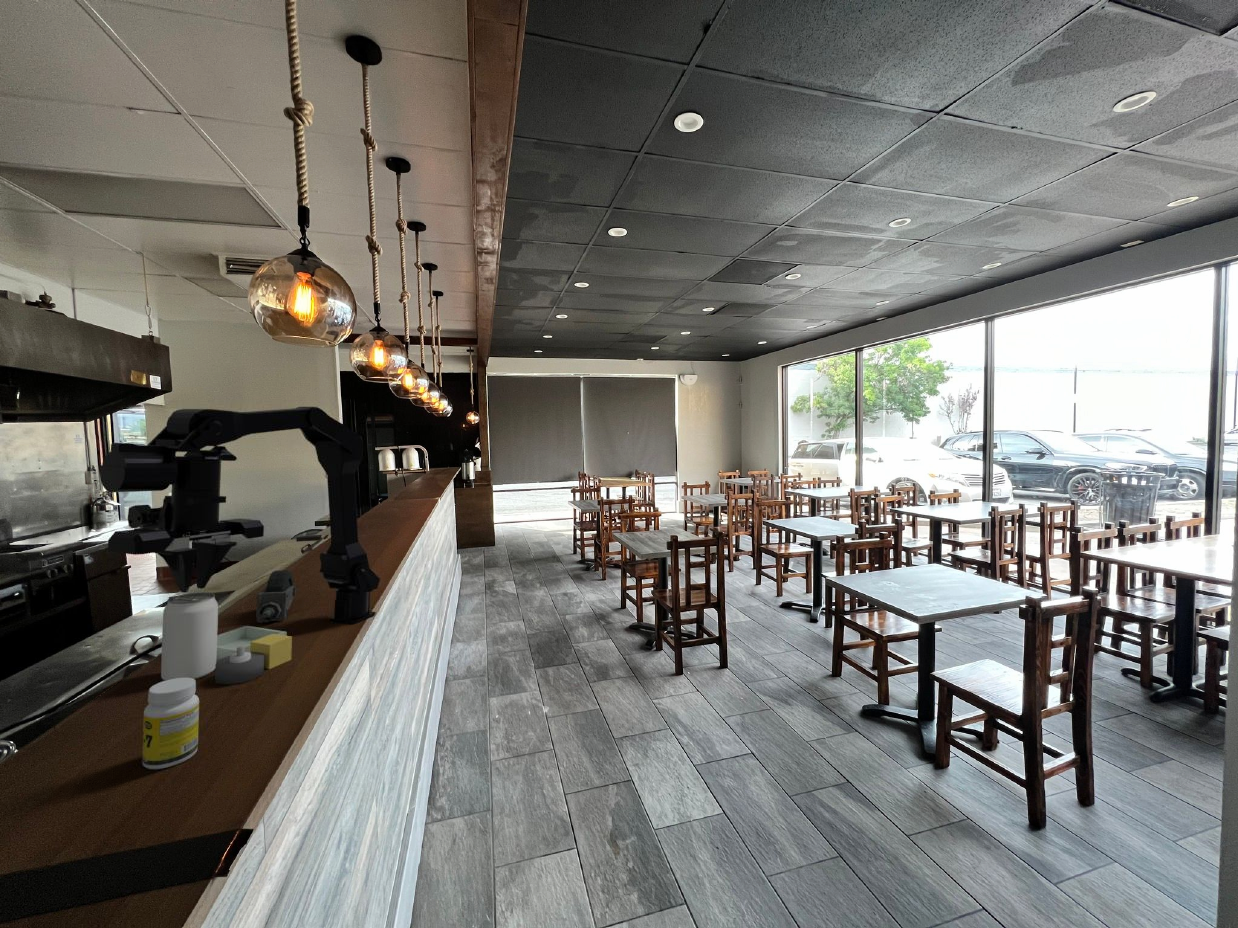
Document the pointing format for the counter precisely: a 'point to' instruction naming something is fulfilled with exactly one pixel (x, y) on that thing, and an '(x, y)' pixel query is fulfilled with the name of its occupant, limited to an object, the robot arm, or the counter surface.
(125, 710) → the counter surface
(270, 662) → the yellow cube
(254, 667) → the trolley wheel
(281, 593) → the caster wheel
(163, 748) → the supplement bottle
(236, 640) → the tray
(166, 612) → the can
